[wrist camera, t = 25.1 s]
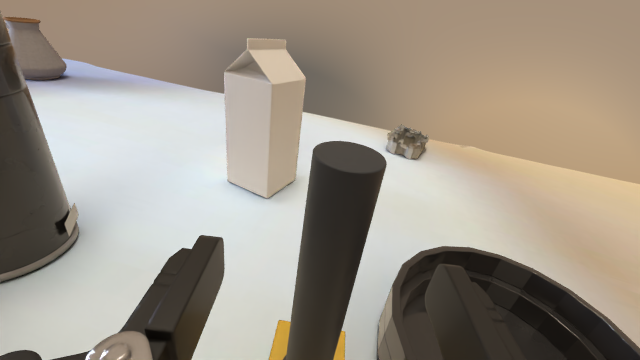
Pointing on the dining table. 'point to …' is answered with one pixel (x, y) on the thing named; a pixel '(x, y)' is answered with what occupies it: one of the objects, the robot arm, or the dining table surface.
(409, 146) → the egg carton
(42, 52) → the coffee pot
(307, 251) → the sponge wand
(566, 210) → the dining table surface
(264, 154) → the milk carton
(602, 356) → the bowl
